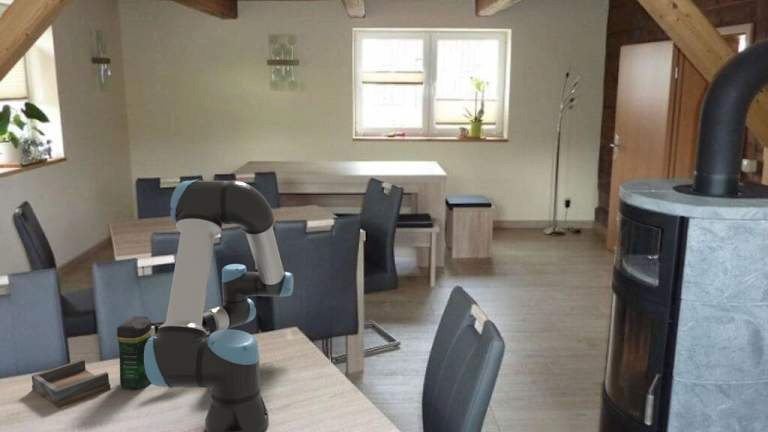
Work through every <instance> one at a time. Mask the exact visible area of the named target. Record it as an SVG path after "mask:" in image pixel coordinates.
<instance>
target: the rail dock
mask: <svg viewBox="0 0 768 432" xmlns="http://www.w3.org/2000/svg"><path fill="white" fill-rule="evenodd" d="M109 379H110V377H109V372H107V371H105V372H102V373H99V374H94V373H92V372H91V371H89V370H87V368H86V360H85V359H84V358H81V359H79V360H75V361H72V362H69V363H66V364H63V365H60V366H57V367H54V368H51V369H48V370H44V371H41V372H38V373H35V374H33V375H31V382H32V384H31V390H32V391H33V393H35V394H37V395H39V396H40V397H41V398H43V399H44V400H46V401H47V402H49V403H50V404H51V405H53V406H54V407H56V408H58V409H61V408H64V407H66V406H69V405H72V404H74V403H77V402H79V401H82V400H85V399H88V398H91V397H93V396H96V395H98V394H102V393H104V392H107V391H109V390H111V389H112V388H111V383H110V380H109Z"/></svg>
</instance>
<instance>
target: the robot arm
mask: <svg viewBox="0 0 768 432" xmlns="http://www.w3.org/2000/svg"><path fill="white" fill-rule="evenodd" d="M169 205H170V212H169V213H170V218H171V220H172V221H173V223H175V226H176V227H175V228H176V229H177V231H178V232H180V235H179V242H178V246H177V247H178V248H177V252H176V258H175V259H176V260H175V265H174V270H173V278H172V282H171V289H170V295H169V300H168V306H167V310H166V311H167V312H166V317H165V318H166V319H165V320H162V321H157V322H151V327H152V334H151V338H149V339H148V341H147V343H146V345H145V350H144V366H145V371H146V375H147V377H148V379H149V381H150V383H151V384H152V385H154V386H156V387H164V388H165V387H167V388H168V389H170V388H200V389H202V388H206V389H207V388H208V389H209V388H211V390H210V403H209V406H208V409H207V413H206V414H207V415H206V417H205V421H204V425H205V432H265V431H266V430H267V428H268V427H269V424H270V420H269V419H270V417H269V412H268V409H267V406H266V404H265V401H264V399H263V397H262V394H261V376H260V375H261V373H260V359H261V356H260V355H261V354H260V352H259V343H258V340H257V339H256V338H255V336H253V335H252V334H250V333H248V332H247V331H243V330H239V329H233V328H235V327H238V326H242V325H245V324H246V323H249V322H251V321H253V320H254V319H255V317H256V315H257V310H256V306H255V302H254V301H253V300H252V299H250V298H248V297H259V296H260V297H279V298H280V297H290V296H292V294H293V291H294V286H295V285H294V283H295V281H294V275H293V273H291V272H288V271H284V267H283V263H282V260H281V256H280V251H279V248H278V244H277V241H276V240H277V239H276V236H275V232H274V229H273V225H274V224H275V223H274V222H275V218H274V217H275V216H274V212H273V209H272V207H271V205H270V204H269V202H268V201H267V199H266V198H265V196H264V195H263V194H262V193H261V192H259V191H258V190H257V189H256V188H255V187H253V186H251V185H250V184H248V183H246V182H243V181H240V180H201V179H194V180H185V181H182V182H180V183H179V184H178V185H177V186H176V187H175V189H174V191H173V192H172V196H171V199H170V204H169ZM223 225H237V226H239V228H240V229H241V231H242V232H243V233H244V234H245V235H246V239H247V241H248V245H249V248H250V251H251V254H252V257H253V260H254V262H255V267H256V271H247V266H246V265H244V264H240V263H231V264H228V265H225V266H224V267H223V268H222V270H221V287H222V289H221V290H222V303H223V304H222V305H220V306H216V307H214V308H210V309H207V310H205V307H206V306H205V304H206V298H207V291H208V286H209V285H208V284H209V278H210V271H211V270H210V269H211V263H212V255H213V249H214V243H215V237H217V236H220V234H221V233H222V229H223ZM231 328H232V329H231Z"/></svg>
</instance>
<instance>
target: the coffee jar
mask: <svg viewBox="0 0 768 432" xmlns="http://www.w3.org/2000/svg"><path fill="white" fill-rule="evenodd" d="M151 323H152V321H151V319H150V318H149V317H148V316H141V315H134V316H132V317H131V318H128V319H126V320H125V321H124V322H121V323H120V324H119V325H118V326H116V327H117V328H116V338H117V343H118V353H119V356H118V357H119V383H120V386H121V387H122V388H124V389H127V390H136V389H143V388H145V387H146V386H147V385H149V384H150V383H151V382H150V381H149V379H148V377H147V375H146V371H145V366H144V350H145V345H146V343H147V341H148V339H149V338H151V334H152V327H151Z"/></svg>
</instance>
